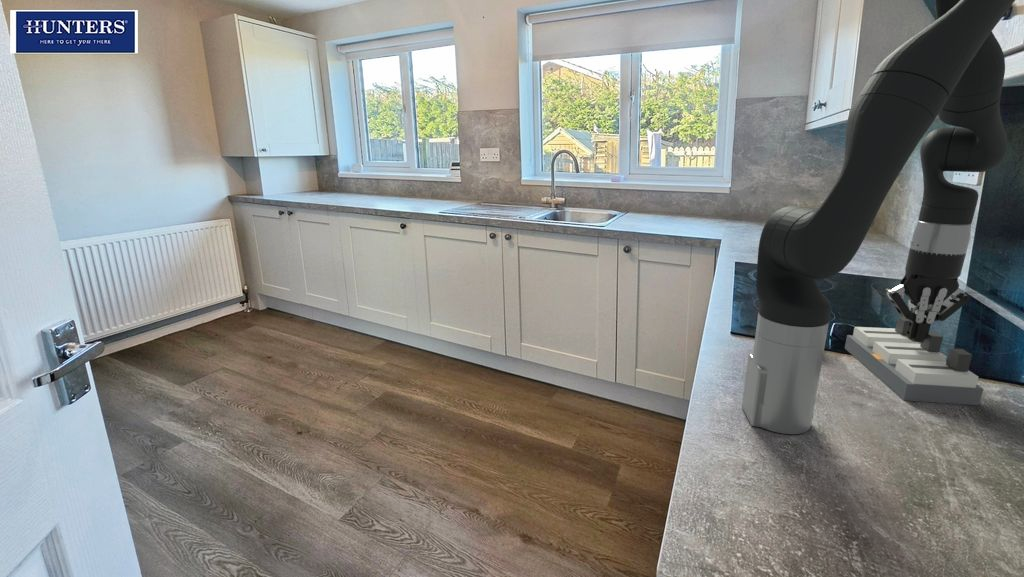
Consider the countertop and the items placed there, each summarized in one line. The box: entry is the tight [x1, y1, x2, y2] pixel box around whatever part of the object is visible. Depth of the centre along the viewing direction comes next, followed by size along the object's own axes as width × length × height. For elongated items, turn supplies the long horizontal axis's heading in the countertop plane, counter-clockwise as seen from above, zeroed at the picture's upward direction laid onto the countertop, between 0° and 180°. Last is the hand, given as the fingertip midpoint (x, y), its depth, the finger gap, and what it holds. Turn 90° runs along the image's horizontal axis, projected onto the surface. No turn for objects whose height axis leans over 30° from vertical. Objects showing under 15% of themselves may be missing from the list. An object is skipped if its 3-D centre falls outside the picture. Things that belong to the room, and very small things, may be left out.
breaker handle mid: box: [920, 331, 944, 352], centre depth 90 cm, size 2×2×3 cm
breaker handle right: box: [946, 348, 973, 372], centre depth 82 cm, size 2×2×3 cm
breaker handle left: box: [894, 316, 909, 335], centre depth 97 cm, size 2×2×3 cm
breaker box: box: [844, 326, 984, 406], centre depth 92 cm, size 11×22×5 cm, turn 169°
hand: (915, 340), depth 90 cm, fingers closed
